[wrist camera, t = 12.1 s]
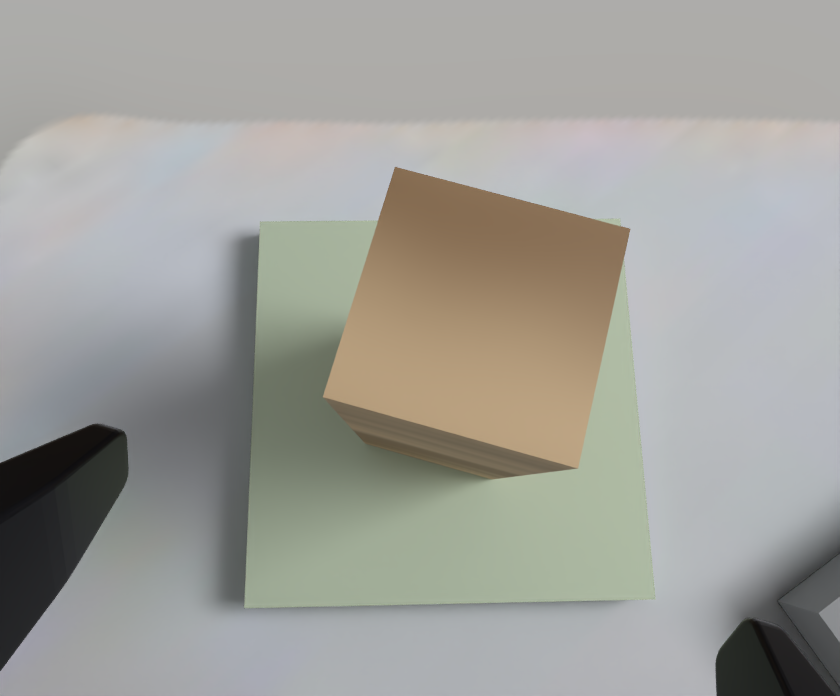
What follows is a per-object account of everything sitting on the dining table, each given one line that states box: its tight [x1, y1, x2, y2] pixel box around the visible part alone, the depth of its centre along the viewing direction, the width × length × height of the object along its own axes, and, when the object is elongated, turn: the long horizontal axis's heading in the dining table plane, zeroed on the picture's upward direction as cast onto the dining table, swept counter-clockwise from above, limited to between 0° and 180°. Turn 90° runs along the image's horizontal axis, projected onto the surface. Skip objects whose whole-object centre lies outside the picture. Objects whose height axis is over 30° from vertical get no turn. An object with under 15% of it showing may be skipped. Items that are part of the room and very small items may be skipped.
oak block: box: [323, 167, 630, 479], centre depth 15 cm, size 4×4×10 cm
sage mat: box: [244, 219, 655, 608], centre depth 20 cm, size 12×12×1 cm
